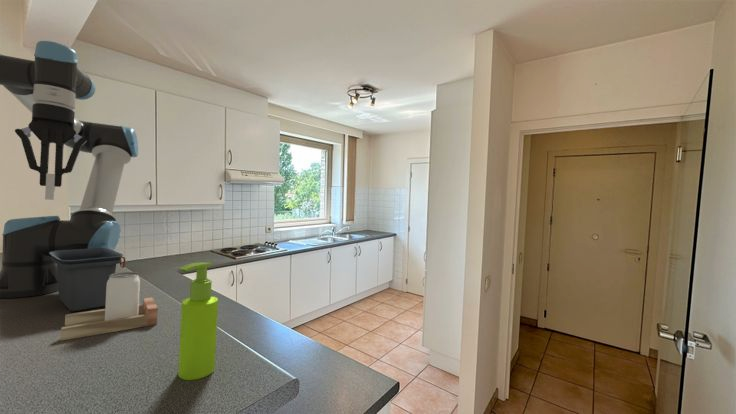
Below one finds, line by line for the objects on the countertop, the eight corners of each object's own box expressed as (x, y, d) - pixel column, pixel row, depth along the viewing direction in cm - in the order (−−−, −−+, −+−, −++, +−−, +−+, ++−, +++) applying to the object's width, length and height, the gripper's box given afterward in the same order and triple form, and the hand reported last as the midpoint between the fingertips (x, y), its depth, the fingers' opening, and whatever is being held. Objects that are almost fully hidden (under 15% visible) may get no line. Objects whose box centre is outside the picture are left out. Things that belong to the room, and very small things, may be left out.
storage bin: (44, 299, 90) (46, 250, 90) (111, 288, 103) (113, 245, 102) (59, 318, 77) (61, 261, 77) (134, 304, 90) (135, 254, 90)
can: (119, 329, 73) (122, 278, 73) (97, 326, 74) (99, 276, 74) (144, 320, 79) (146, 273, 79) (123, 317, 80) (125, 270, 80)
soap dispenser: (164, 377, 55) (170, 264, 55) (199, 360, 61) (204, 258, 61) (188, 386, 52) (194, 268, 52) (221, 367, 59) (227, 262, 59)
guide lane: (65, 324, 74) (66, 308, 74) (151, 311, 85) (152, 297, 85) (60, 340, 66) (61, 322, 66) (156, 324, 77) (157, 308, 77)
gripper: (12, 96, 72) (7, 198, 72) (88, 109, 80) (84, 201, 80) (19, 103, 77) (14, 197, 78) (89, 115, 86) (85, 200, 86)
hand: (50, 199), depth 79 cm, fingers closed
